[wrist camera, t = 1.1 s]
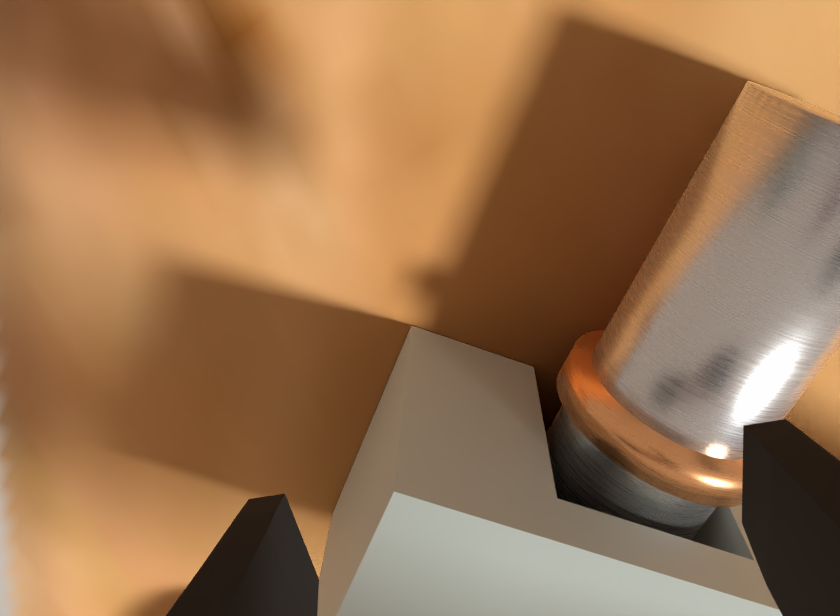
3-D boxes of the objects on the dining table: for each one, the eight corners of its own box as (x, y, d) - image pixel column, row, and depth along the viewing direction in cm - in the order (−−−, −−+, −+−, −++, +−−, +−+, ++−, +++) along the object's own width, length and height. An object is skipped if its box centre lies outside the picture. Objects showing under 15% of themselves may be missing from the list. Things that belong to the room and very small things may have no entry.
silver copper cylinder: (894, 138, 18) (1062, 220, 13) (626, 525, 24) (670, 679, 19) (693, 54, 17) (790, 109, 12) (471, 476, 24) (476, 624, 19)
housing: (797, 456, 23) (925, 654, 17) (670, 615, 27) (736, 825, 20) (411, 325, 21) (393, 491, 15) (332, 514, 25) (292, 710, 19)
